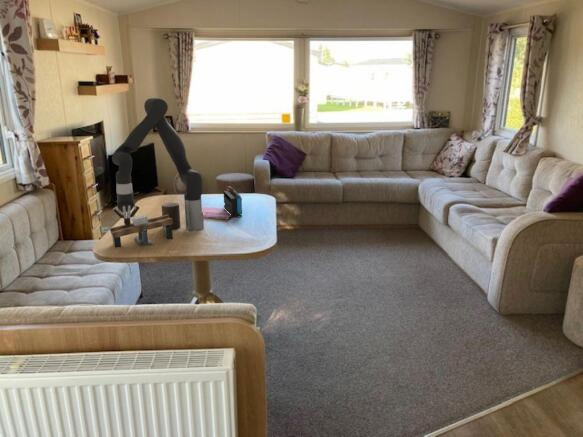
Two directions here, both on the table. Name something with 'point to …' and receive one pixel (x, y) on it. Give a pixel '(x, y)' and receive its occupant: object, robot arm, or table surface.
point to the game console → (233, 202)
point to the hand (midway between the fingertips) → (127, 225)
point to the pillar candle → (172, 214)
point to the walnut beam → (151, 224)
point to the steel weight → (139, 220)
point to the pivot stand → (145, 237)
